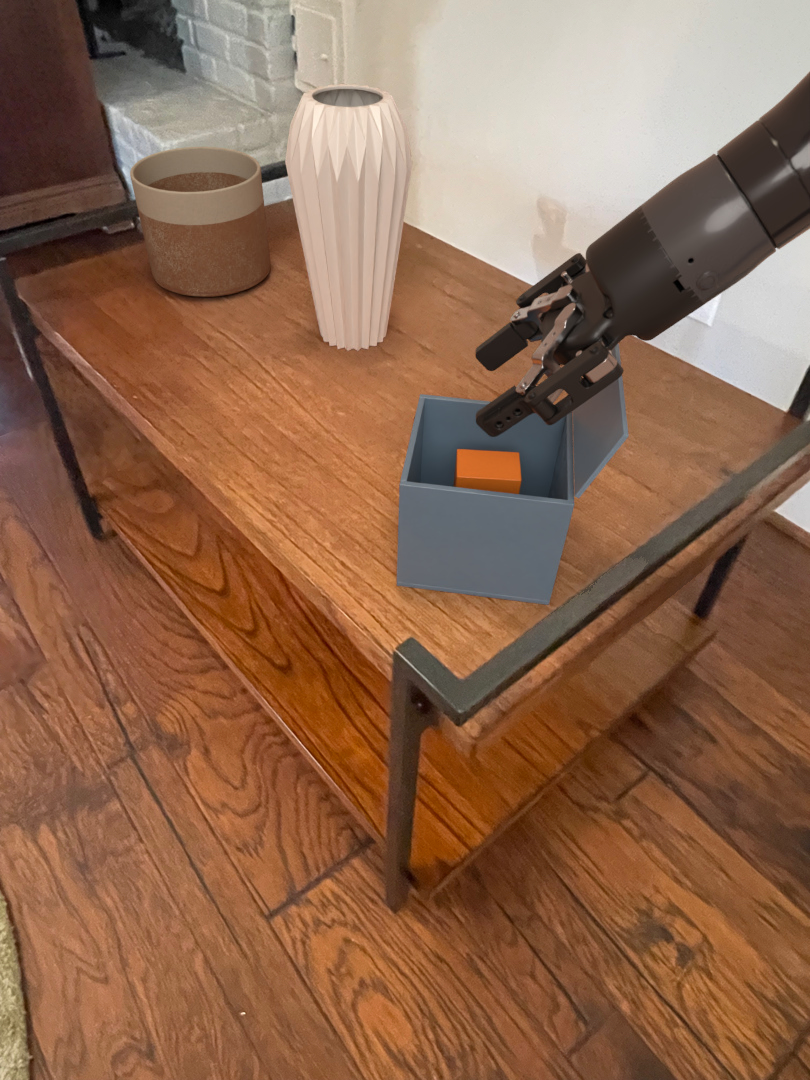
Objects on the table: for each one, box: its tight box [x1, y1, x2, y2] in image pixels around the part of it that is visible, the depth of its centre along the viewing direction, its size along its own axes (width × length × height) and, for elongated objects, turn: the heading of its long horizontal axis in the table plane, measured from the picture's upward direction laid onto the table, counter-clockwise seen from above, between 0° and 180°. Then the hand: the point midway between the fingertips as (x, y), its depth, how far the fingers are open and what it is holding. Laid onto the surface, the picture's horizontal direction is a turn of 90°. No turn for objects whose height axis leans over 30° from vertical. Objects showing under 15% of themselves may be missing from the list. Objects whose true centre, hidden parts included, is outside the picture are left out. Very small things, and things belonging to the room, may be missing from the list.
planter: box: [129, 146, 271, 298], centre depth 98 cm, size 16×16×14 cm
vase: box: [284, 83, 413, 352], centre depth 84 cm, size 13×13×26 cm
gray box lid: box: [572, 343, 629, 499], centre depth 57 cm, size 6×12×1 cm
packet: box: [453, 449, 522, 494], centre depth 64 cm, size 5×4×9 cm
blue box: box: [395, 393, 575, 606], centre depth 64 cm, size 13×12×12 cm
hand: (482, 393), depth 56 cm, fingers open, 8 cm apart
